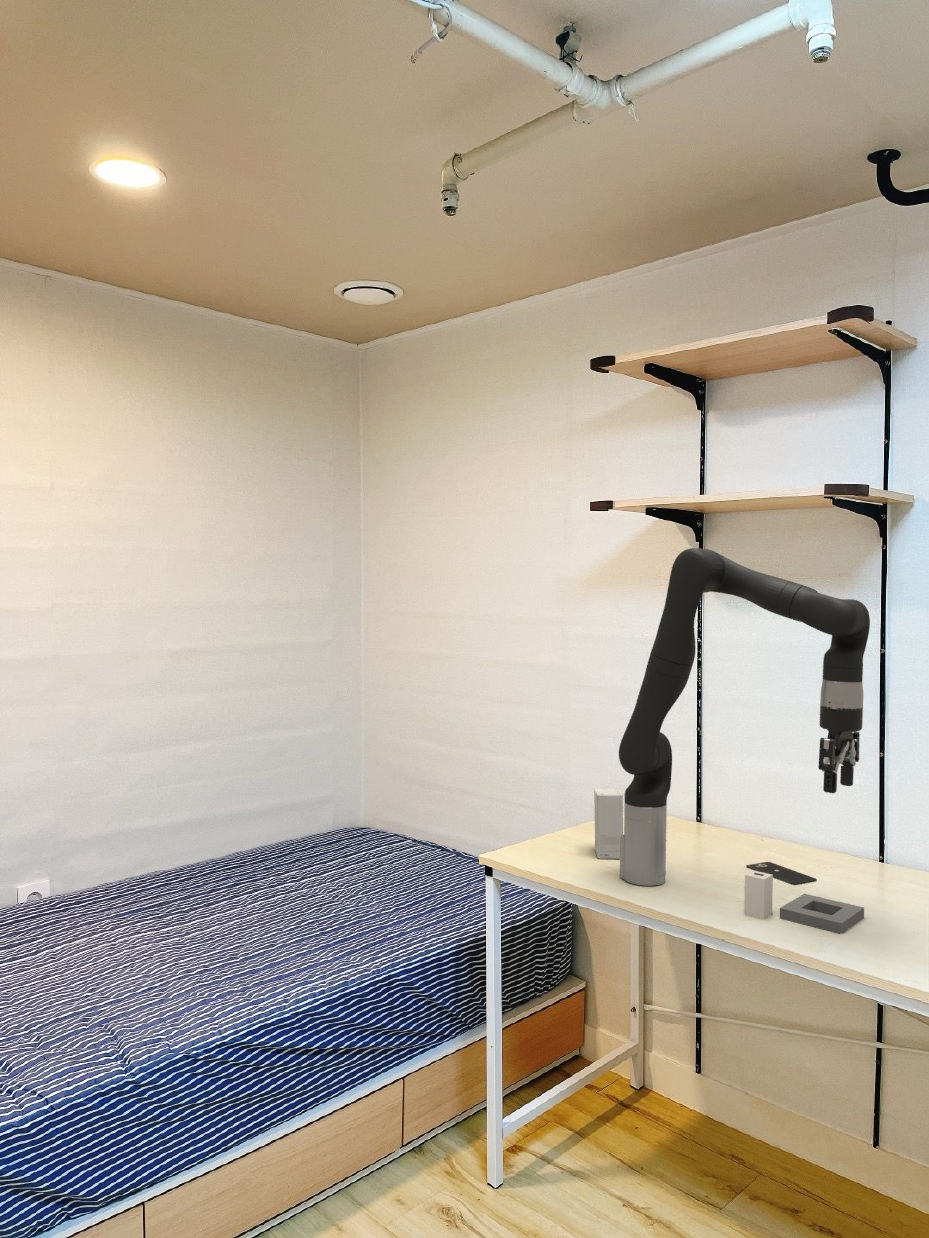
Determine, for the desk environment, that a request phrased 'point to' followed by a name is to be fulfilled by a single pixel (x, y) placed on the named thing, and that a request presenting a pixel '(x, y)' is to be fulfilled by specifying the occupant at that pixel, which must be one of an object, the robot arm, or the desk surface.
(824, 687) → the robot arm
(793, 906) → the socket plate
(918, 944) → the desk surface
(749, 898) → the charger
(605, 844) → the skincare box
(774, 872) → the smartphone
